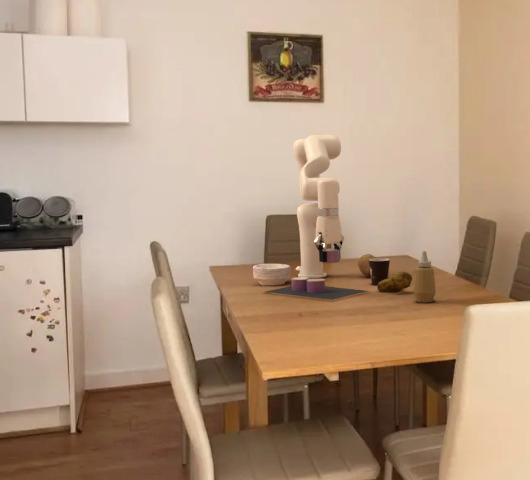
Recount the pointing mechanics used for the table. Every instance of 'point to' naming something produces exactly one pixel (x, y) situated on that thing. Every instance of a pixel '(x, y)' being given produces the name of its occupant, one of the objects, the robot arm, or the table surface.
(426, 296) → the squeeze bottle
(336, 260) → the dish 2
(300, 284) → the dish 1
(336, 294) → the placemat
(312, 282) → the dish mid
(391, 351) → the table surface
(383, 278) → the coffee mug
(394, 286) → the potato
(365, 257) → the natural sponge
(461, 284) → the table surface
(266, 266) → the paper bowls
